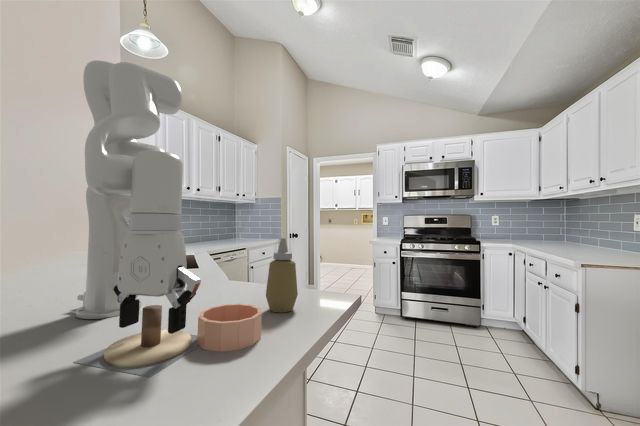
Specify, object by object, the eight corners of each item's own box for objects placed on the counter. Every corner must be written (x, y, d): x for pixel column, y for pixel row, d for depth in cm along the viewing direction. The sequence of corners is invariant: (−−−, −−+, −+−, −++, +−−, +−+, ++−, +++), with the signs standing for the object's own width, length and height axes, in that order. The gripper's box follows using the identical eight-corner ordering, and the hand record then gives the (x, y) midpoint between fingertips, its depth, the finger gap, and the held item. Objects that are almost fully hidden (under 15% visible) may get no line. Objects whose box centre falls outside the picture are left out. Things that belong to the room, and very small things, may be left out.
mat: (73, 364, 42) (73, 362, 42) (151, 331, 55) (151, 328, 55) (149, 379, 38) (149, 376, 38) (212, 339, 52) (212, 337, 52)
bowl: (184, 348, 48) (185, 318, 48) (221, 326, 59) (222, 302, 59) (241, 357, 45) (242, 325, 46) (270, 332, 56) (270, 306, 56)
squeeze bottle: (292, 316, 66) (293, 239, 67) (259, 313, 68) (262, 238, 69) (301, 306, 74) (302, 238, 75) (272, 304, 76) (274, 237, 76)
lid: (83, 360, 42) (85, 314, 43) (151, 330, 54) (152, 295, 55) (149, 373, 39) (152, 324, 40) (206, 338, 51) (207, 301, 52)
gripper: (94, 224, 46) (89, 330, 45) (183, 225, 42) (179, 342, 41) (135, 225, 53) (131, 316, 53) (214, 225, 49) (211, 325, 48)
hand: (152, 327), depth 47 cm, fingers open, 9 cm apart
